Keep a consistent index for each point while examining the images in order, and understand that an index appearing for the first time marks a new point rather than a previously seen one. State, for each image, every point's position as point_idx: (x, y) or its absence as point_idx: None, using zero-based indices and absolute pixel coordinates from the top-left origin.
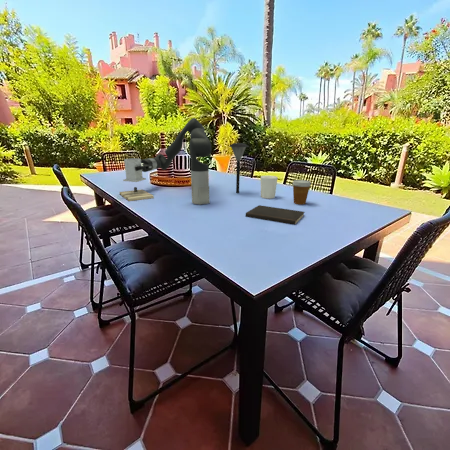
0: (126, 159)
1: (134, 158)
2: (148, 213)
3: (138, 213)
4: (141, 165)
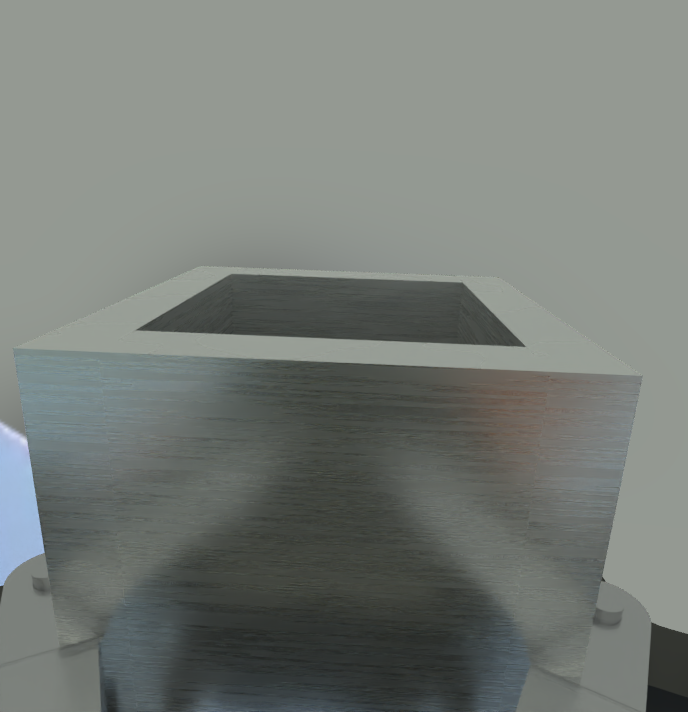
0: (432, 276)
1: (396, 353)
2: (4, 483)
3: None
4: (55, 648)
